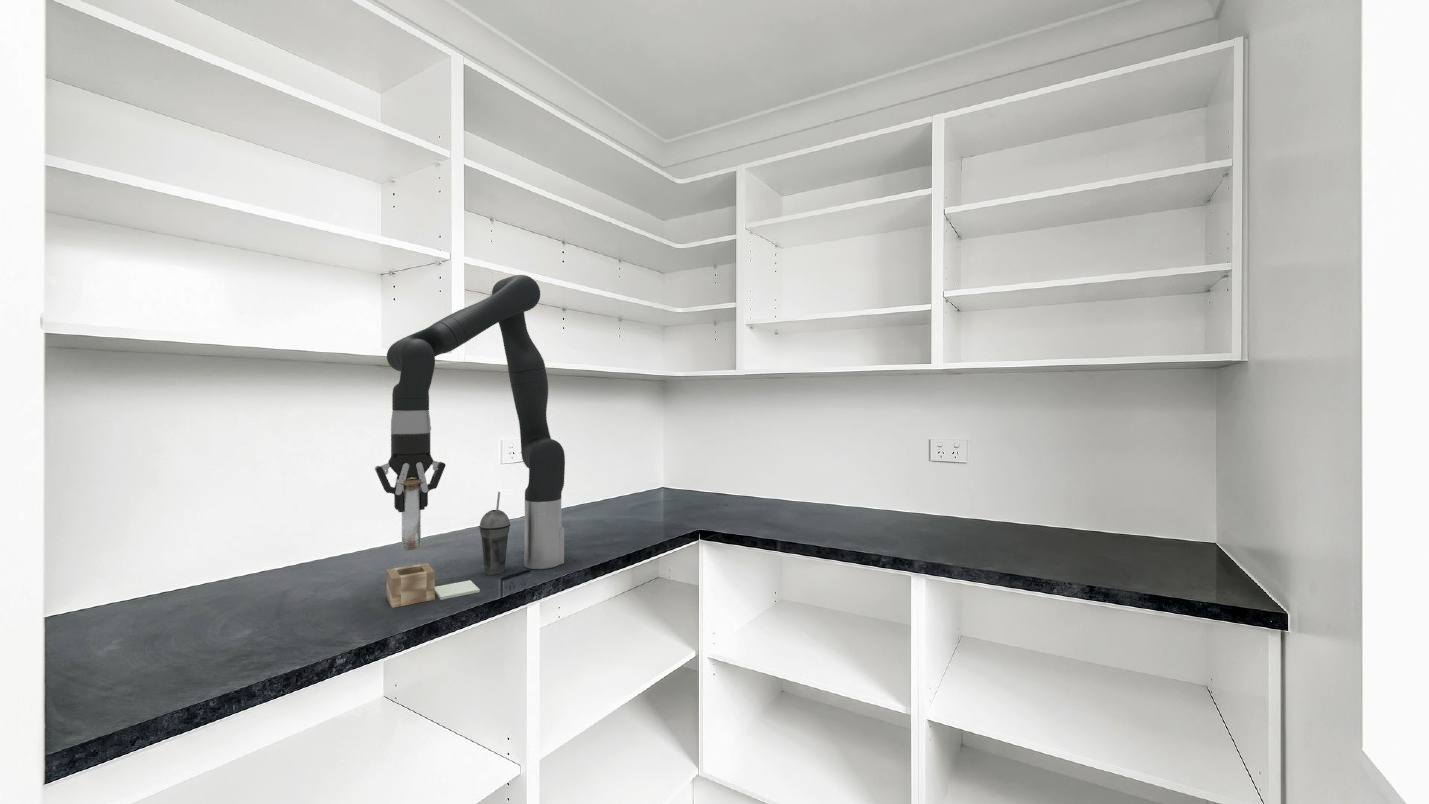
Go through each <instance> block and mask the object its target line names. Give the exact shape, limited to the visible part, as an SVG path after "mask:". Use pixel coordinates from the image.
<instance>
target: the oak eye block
mask: <svg viewBox="0 0 1429 804" xmlns="http://www.w3.org/2000/svg"><path fill="white" fill-rule="evenodd" d="M435 576H436V571H435V570H434V569H433V568H432V567H431V565H430V564H429V563H428V562H426V563H425V562H424V563H420V564H413V565H407V566H401V567H395V568H389V569H388V568H387V569H386V599H387V601H388V603H389V605H390V607H391V608H393V609H394V608H399V607H404V606H408V605H414V604H419V603H423V602H424V603H425V602H429V601H435V599H436V596H435V595H436V593H435V587H436V583H435V581H436V577H435Z"/></svg>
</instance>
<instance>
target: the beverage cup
mask: <svg viewBox="0 0 1429 804" xmlns="http://www.w3.org/2000/svg"><path fill="white" fill-rule="evenodd" d="M500 497H501V491H498V492H497V500H496V509H491V510H488V511H486V513H485V514H483V516H482V518H481V519H480V522H479V527H478V529H479V532H480V536H481V545H482V546H481V548H482V558H483V567H484V573H485V575H488V576H493V575H494V576H495V575H496V576H497V575H500V574H503V573H504V572H505V567H506V560H507V549H508V537H509V534H510V533H509V532H510V526H511V523H510V519H509V517H508V515H507V514H506V513H505V512H504V511H503V510H501V509H499V507H500Z"/></svg>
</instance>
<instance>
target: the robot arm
mask: <svg viewBox="0 0 1429 804" xmlns="http://www.w3.org/2000/svg"><path fill="white" fill-rule="evenodd" d="M540 299H541V290H540V287H539V284H538V283H537V281H535V279H534V278H532V277H530V276H529V275H525V274H515V275H511V276H509V277H505V278H503V279H500V280H498V281H497V282H496V283H495V284H494V285H493V287H492V290H491V295H490V296H488V297H487V298H485V299H482V300H480V301H477V302H475V303H474V304H471V305H469V306H465V307H463V308H462V309H459V310H457V311H454V312H452V313H451V314H448V315H447V316H445V317H443V318H442V319H441V318H440V319H439V320H438V321H436V322H434V323H433V324H431V325H429V326H428V327H426V328H425V329H422V330H419V331H416V332H414V333H412V334H409V335H407V336H405V337H402V338H401V339H398V340H397V341H395V342H394V343H393V344H391V345H390V347H389V348H388V350H387V353H386V361H387V363H388V365H389V366H390V367H391V368H392V369H393V370H395V371H398V372H400V374H399V375H400V376H399V381H398V383H396V385H394V387H393V388H392V393H391V394H392V395H391V396H392V397H391V398H392V399H391V400H392V401H391V402H392V404H391V405H392V406H391V408H392V411H391V412H392V413H391V419H390V457H389V459H388V462H387V463H384V464H382V465H376V466H375V467H374V471H375V473H376V475H377V477H378V479H379V481H380V483H381V486H382V488H383V490H384V492H386V493H387V494H393V497H394V500H393V502H394V503H393V504H394V505H393V506H394V509H395V510H396V511H397V512H398V513H402V512H403V495H402V490H403V486H404V485H402V484H403V483H404V481H405V480H406V479H408V478H419V479H421V481H422V483H423V484H420V485H421V511H425V509H426V508H427V507H428V502H429V495H428V494H429V492H430V491H432V490H436V489H437V487H438V485H439V483H440V480H441V478H442V475H443V472H444V470H445V468H446V465H447V464H446V463H445V462H442V461H436V460H434V459H433V458H434V457H432V454H431V430H432V426H431V416H430V388H431V385H432V380H433V376H434V371H435V366H436V357H437V356H440V355H443V354H447V353H450V352H452V351H454V350H456V349H457V348H459V347H461V346H462V345H463V344H465V343H467V342H469V341H471V340H472V339H473V338H475V337H477V336H479V335H480V334H481V333H483V332H484V331H486V330H488V329H489V328H491V327H493V326H495V325H496V324H498V325H499V329H500V333H501V336H502V342H503V347H504V353H505V354H504V355H505V357H506V364H507V370H508V371H507V372H508V377H509V383H510V388H511V392H512V397H513V402H514V407H515V410H516V411H515V412H516V415H517V419H518V424H519V425H518V426H519V434H520V453H521V459H522V462H523V464H524V465H525V466H526V468H528V484H527V487H526V488H525V490H524V558H523V559H524V567H525V568H527V569H532V570H544V569H545V570H546V569H551V568H552V569H553V568H555V567H558V566H560V565H563V564H565V528H564V526H562V492H563V490H564V486H565V470H566V469H565V467H566V455H565V449H564V447H563V446H562V445H561V443H560V442H558V441H557V440H555V439H552V437H551V433H550V430H549V425H548V420H547V418H548V417H547V410H548V409H547V407H548V401H549V400H548V399H549V382H548V374H547V369H546V364H545V361H544V358H543V356H542V354H541V353H540V351H539V349H538V348H537V346H536V345H535V343H534V342H533V339H532V338H531V336H530V334H529V332H528V331H529V330H528V328H527V323H526V318H525V317H526V316H525V313H526V312H527V311H528V312H529V311H530V310H532V309H534V308H535V307H536V306H537V305H538V303H539V301H540ZM431 466H432V470H433V471H434V472H433V474H432V476H431V479H430V481H429V483H427V477H426V472H427V471H428V470H429V469H430V467H431ZM389 469H391V471H393V472H394V473H395V474H396V479H395V484H394V486H391V483H390V481H389V479H388V476H387V475H388V474H389Z"/></svg>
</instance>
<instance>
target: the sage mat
mask: <svg viewBox="0 0 1429 804" xmlns="http://www.w3.org/2000/svg"><path fill="white" fill-rule="evenodd" d="M480 591H481V589H480V588H479V587H478V586H477V585H476V584H475V583H474V582H473V581H472V580H464V581H460V582H459V581H458V582H454V583H449V584H443V585H437V586H436V585H435V595H437V597H438V599H439V600H441V601H442V600H448V599H451V598H457V597H462V596H466V595H467V596H468V595H472V594H477V593H480Z"/></svg>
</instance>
